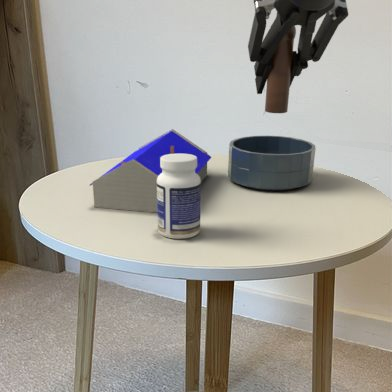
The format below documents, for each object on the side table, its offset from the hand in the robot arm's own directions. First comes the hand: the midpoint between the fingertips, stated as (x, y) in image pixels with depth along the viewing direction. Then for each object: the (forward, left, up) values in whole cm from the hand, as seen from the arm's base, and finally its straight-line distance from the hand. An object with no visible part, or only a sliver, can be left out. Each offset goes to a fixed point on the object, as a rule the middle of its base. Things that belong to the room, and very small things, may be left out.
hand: (271, 86), depth 98 cm
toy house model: (+20, +6, -15) cm, 26 cm away
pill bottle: (+19, +26, -15) cm, 35 cm away
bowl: (0, +3, -15) cm, 15 cm away
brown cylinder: (0, +4, -3) cm, 5 cm away
